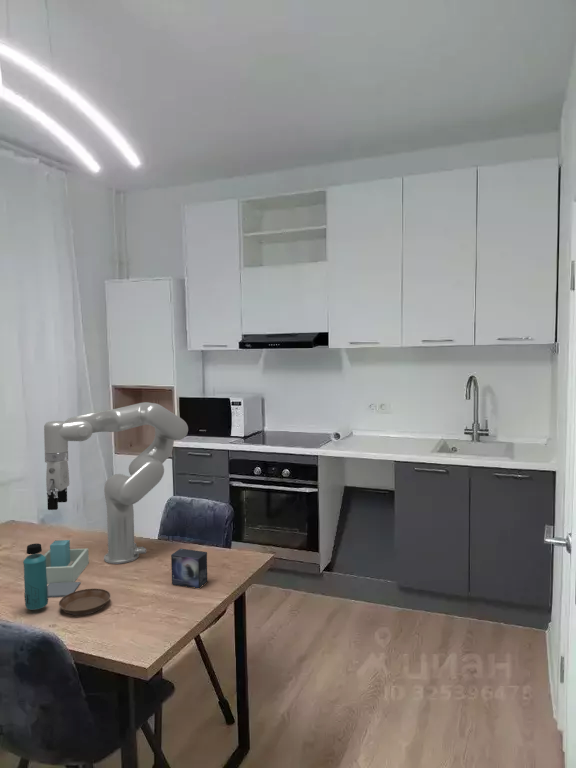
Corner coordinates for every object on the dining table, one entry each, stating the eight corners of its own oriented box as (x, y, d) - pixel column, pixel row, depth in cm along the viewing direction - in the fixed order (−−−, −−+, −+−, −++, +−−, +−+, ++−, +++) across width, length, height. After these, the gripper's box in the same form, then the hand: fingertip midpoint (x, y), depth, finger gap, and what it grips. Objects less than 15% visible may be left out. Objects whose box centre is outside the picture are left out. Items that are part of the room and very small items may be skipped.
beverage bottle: (53, 606, 170) (51, 542, 169) (37, 616, 164) (34, 549, 163) (36, 603, 172) (34, 540, 171) (19, 613, 166) (17, 547, 165)
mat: (80, 583, 187) (80, 581, 187) (71, 596, 177) (71, 594, 177) (49, 584, 186) (49, 583, 186) (38, 597, 176) (38, 596, 176)
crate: (88, 563, 205) (88, 548, 205) (73, 583, 187) (72, 567, 187) (49, 564, 204) (49, 549, 204) (30, 584, 186) (29, 568, 186)
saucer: (64, 623, 160) (63, 614, 160) (55, 604, 172) (54, 595, 172) (116, 610, 168) (116, 601, 167) (104, 592, 180) (103, 584, 180)
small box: (170, 585, 185) (169, 554, 184) (180, 577, 191) (180, 547, 190) (198, 589, 181) (198, 558, 180) (208, 582, 187) (207, 551, 187)
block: (70, 562, 198) (69, 540, 198) (65, 567, 193) (64, 544, 193) (55, 562, 198) (55, 540, 197) (50, 568, 193) (50, 545, 192)
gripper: (59, 461, 185) (60, 512, 186) (75, 452, 202) (76, 499, 203) (35, 461, 184) (37, 513, 185) (54, 452, 202) (55, 499, 202)
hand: (57, 505), depth 194 cm, fingers open, 9 cm apart
